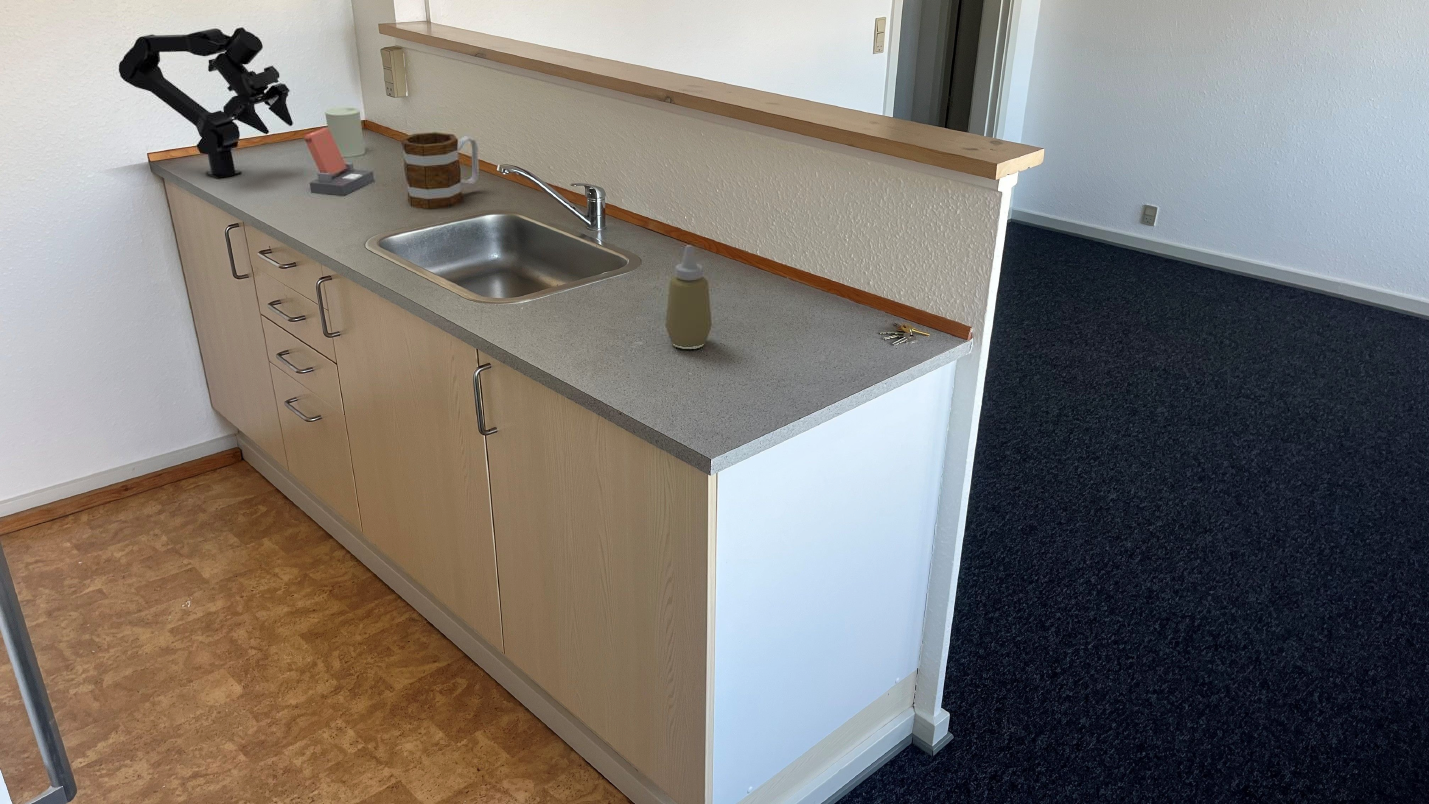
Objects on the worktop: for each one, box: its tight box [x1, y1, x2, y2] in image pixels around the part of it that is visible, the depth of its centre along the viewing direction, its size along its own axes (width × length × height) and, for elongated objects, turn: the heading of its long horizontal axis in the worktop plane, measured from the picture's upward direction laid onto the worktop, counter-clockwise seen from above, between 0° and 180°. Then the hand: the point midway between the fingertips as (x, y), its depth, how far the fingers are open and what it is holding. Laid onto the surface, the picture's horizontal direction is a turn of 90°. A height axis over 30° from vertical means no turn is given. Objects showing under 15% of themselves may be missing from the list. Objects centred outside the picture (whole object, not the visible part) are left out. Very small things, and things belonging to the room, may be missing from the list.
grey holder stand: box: [309, 162, 375, 197], centre depth 264 cm, size 9×14×4 cm, turn 165°
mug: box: [400, 131, 480, 210], centre depth 254 cm, size 20×14×15 cm
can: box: [324, 107, 366, 158], centre depth 291 cm, size 9×9×12 cm
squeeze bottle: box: [664, 244, 713, 347], centre depth 181 cm, size 8×8×18 cm
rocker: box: [304, 126, 347, 175], centre depth 262 cm, size 2×8×11 cm, turn 164°
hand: (280, 129), depth 261 cm, fingers open, 9 cm apart
